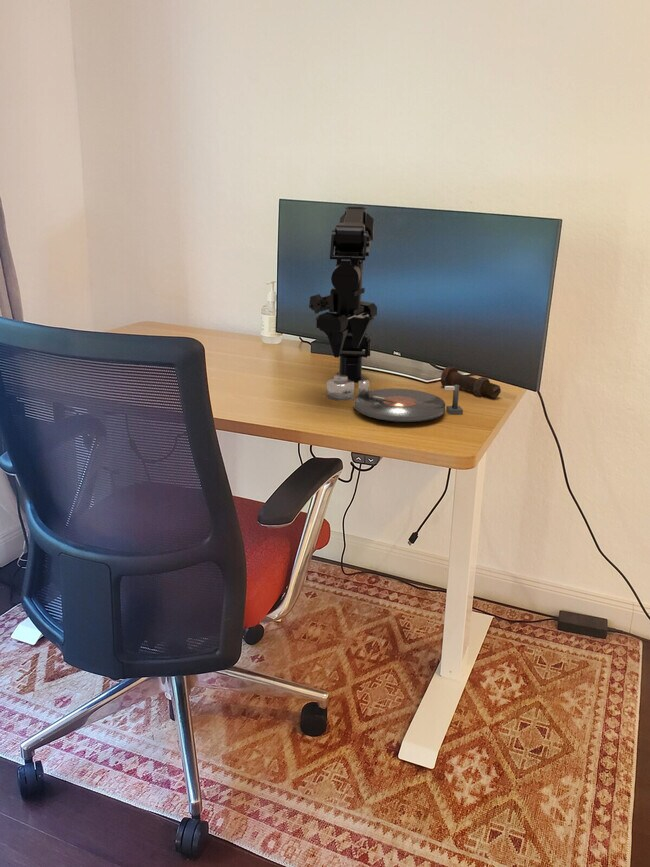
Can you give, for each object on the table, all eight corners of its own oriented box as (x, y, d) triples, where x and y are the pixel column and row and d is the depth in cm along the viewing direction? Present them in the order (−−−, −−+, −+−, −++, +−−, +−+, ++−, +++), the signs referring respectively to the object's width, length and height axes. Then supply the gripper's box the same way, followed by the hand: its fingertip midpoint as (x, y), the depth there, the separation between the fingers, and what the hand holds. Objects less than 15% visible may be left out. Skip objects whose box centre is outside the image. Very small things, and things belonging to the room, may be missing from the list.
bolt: (493, 407, 178) (443, 391, 188) (505, 394, 180) (455, 378, 190) (489, 389, 174) (438, 373, 184) (501, 376, 176) (450, 361, 186)
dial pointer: (441, 410, 169) (443, 383, 167) (459, 410, 169) (461, 383, 167) (444, 414, 166) (446, 387, 164) (462, 414, 167) (465, 387, 164)
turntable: (458, 403, 170) (460, 384, 168) (422, 428, 154) (424, 407, 152) (378, 388, 179) (379, 370, 178) (336, 410, 163) (337, 391, 162)
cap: (325, 392, 180) (326, 372, 178) (352, 392, 180) (352, 372, 179) (327, 401, 174) (328, 380, 172) (355, 400, 174) (355, 380, 173)
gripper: (336, 273, 177) (335, 338, 183) (294, 286, 162) (294, 356, 167) (379, 279, 172) (376, 345, 177) (340, 292, 157) (338, 364, 162)
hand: (346, 352), depth 171 cm, fingers open, 9 cm apart
